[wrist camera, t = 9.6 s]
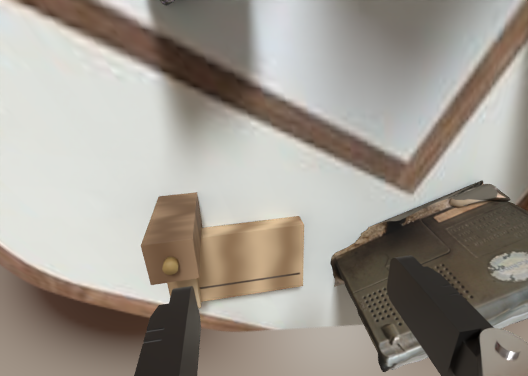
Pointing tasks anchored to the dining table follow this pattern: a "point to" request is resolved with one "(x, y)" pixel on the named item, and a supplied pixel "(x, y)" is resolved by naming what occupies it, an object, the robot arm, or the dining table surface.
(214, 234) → the board
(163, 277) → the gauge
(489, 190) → the radio
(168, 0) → the ink box
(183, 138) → the dining table surface
